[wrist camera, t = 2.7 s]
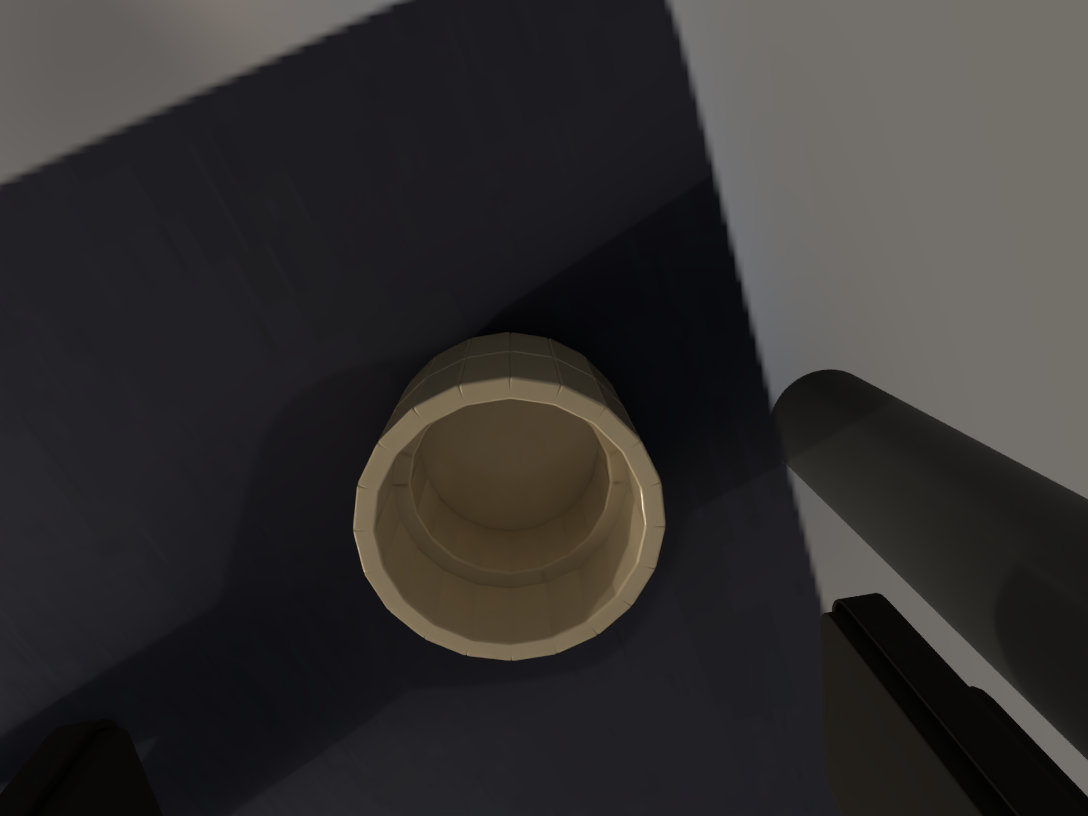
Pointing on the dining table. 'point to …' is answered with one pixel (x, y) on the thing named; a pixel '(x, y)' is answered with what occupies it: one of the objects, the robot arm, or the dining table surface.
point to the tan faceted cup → (509, 501)
